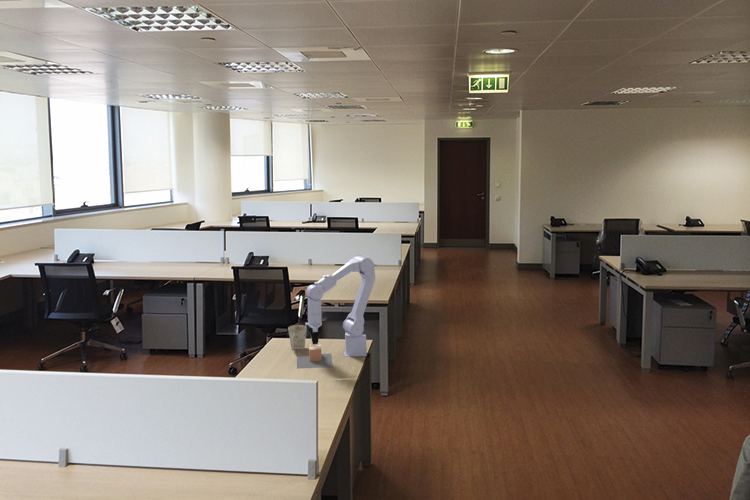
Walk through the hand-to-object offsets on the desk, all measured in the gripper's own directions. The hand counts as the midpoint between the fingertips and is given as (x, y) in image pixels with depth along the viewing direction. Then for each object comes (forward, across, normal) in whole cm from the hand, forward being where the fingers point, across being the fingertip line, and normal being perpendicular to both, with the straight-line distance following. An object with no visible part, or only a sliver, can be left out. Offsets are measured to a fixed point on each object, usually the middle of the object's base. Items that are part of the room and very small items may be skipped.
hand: (315, 343), depth 277 cm
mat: (+7, +2, 0) cm, 8 cm away
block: (+4, +2, 0) cm, 5 cm away
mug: (+8, -16, -8) cm, 19 cm away
